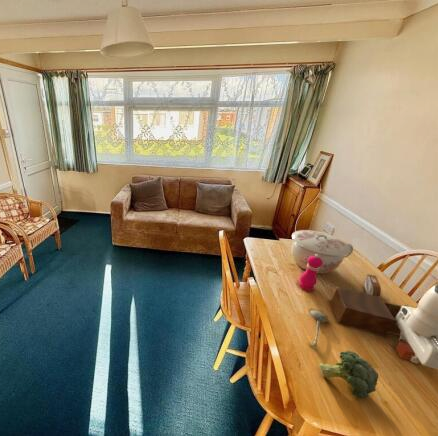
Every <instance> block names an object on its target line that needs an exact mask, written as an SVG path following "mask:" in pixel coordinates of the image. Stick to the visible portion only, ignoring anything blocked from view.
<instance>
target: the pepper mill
mask: <svg viewBox="0 0 438 436" xmlns="http://www.w3.org/2000/svg"><path fill="white" fill-rule="evenodd" d="M322 263H323V262H322V259H321V258H319V255H318V254H316V255H315V256H311V257H309V258H308V264H307V270H305V271H304V272H303V273H301V275H300V276H299V281H298V286H299V287H300V288H301V289H302V290H304V291H313V289H314V287H315V286H316V285H317V282H318V279H317V273H316V272H317V270H319V267H320V266H322Z"/></svg>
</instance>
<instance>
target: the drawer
mask: <svg viewBox="0 0 438 436" xmlns="http://www.w3.org/2000/svg"><path fill="white" fill-rule="evenodd" d="M383 302H384V303H385V305H386V306H387V308H388V309H389V311H390V313H391V314H392V316H393V317H394V319H395V318H396V316H397V314H398V313H399V311H401V307H402V306H407V307H410V306H409V305H406V304H404V305H400V304H396V303H392V302H387V301H384V300H383ZM396 322H397V320H396V319H395V322H394V323H393V325H392V327H391V328H390V330H389V331H388V333H389V334H392V335H396V336H400V332H401V330H400V329H399V327H398V326H397V324H396Z"/></svg>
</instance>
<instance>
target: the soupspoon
mask: <svg viewBox="0 0 438 436" xmlns="http://www.w3.org/2000/svg"><path fill="white" fill-rule="evenodd" d="M310 315H311V316H312V317H313V318H314V320H316V331H315V339H314V341H313V343H312V344H311V346H312V348H315V349H317V348H318V338H319V333H320V332H319V331H320V326H321V323H326V322H328V321H329V317H328V315H326V314H325V313H323V312H322V311H319V310H315V309H314V310H313V309H312V310H310Z"/></svg>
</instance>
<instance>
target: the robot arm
mask: <svg viewBox="0 0 438 436" xmlns="http://www.w3.org/2000/svg"><path fill="white" fill-rule="evenodd" d="M401 306H402V307H401V309H400V311H399V312H398V314H397V315H396V318H395V319H396V320H397V322H396V324H397V326H398V327H399V329H400V330H401V332H400V335H399V339H398V342H399V343H400V342H404V343H407V344H409V345H410V346H411V348H412V349H413V351H414V352H415V356H412V355H411V356H410V357H409V359H410V360H411V361H410V360H409V361H410V362H411V363H414V364H419V363H420V364H421V365H422V366H424V367H426V368H430V369H434V370H438V283H437V284H435V285H433V286H431V287H430V288H429V289H428V290H427V291H426V292H425V293H424V294H423V295H422V296H421V297H420V299H419V301H418V303H417V307H411V306H409V307H407V306H408V305H406V306H404V305H401Z"/></svg>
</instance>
